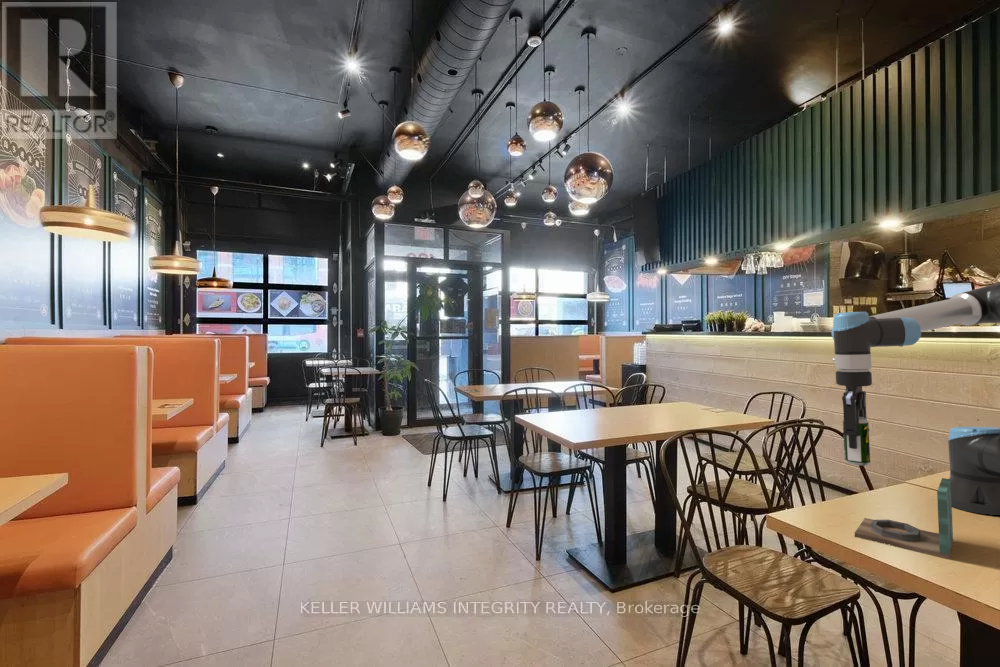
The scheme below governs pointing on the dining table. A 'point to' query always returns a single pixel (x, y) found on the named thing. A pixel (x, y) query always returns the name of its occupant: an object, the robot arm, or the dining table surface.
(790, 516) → the dining table surface
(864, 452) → the green drink can
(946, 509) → the seat plate
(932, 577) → the dining table surface
